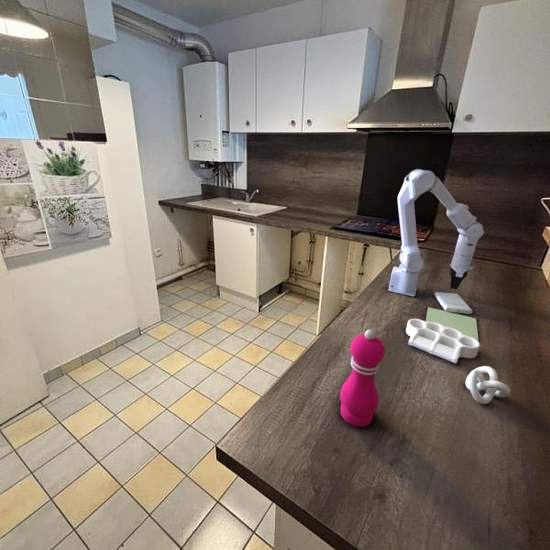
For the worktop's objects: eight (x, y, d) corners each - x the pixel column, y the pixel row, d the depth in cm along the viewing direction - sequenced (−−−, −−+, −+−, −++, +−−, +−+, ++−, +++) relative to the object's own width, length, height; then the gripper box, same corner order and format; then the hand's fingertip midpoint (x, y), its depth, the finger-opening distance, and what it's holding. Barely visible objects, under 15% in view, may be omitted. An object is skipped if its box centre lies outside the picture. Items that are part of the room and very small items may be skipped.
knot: (486, 414, 59) (495, 393, 57) (450, 387, 66) (457, 367, 64) (509, 403, 62) (518, 382, 60) (472, 378, 69) (480, 358, 66)
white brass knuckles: (395, 342, 81) (412, 322, 91) (469, 373, 70) (479, 346, 80) (397, 332, 80) (414, 312, 90) (473, 362, 69) (483, 336, 79)
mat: (424, 326, 89) (424, 326, 89) (428, 307, 100) (428, 307, 100) (478, 341, 83) (478, 340, 83) (475, 319, 94) (476, 318, 94)
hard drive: (457, 298, 108) (471, 314, 96) (433, 295, 109) (444, 311, 98) (458, 294, 107) (473, 310, 96) (434, 291, 108) (446, 307, 97)
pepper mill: (333, 400, 62) (344, 319, 54) (366, 398, 62) (381, 318, 55) (344, 430, 55) (357, 343, 47) (380, 428, 56) (400, 342, 48)
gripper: (477, 262, 96) (466, 298, 102) (475, 250, 108) (465, 283, 113) (453, 258, 99) (443, 293, 105) (453, 247, 111) (445, 279, 116)
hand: (453, 288), depth 109 cm, fingers closed
